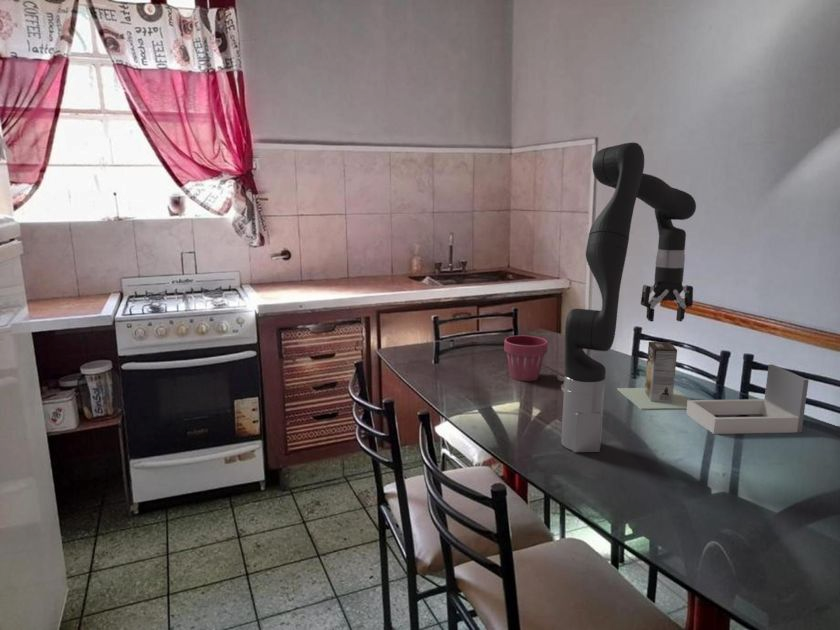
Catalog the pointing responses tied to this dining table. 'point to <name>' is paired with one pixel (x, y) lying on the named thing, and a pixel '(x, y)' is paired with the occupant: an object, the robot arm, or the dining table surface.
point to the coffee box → (660, 371)
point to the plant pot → (525, 356)
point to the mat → (644, 402)
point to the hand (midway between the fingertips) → (665, 321)
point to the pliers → (561, 381)
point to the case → (757, 408)
